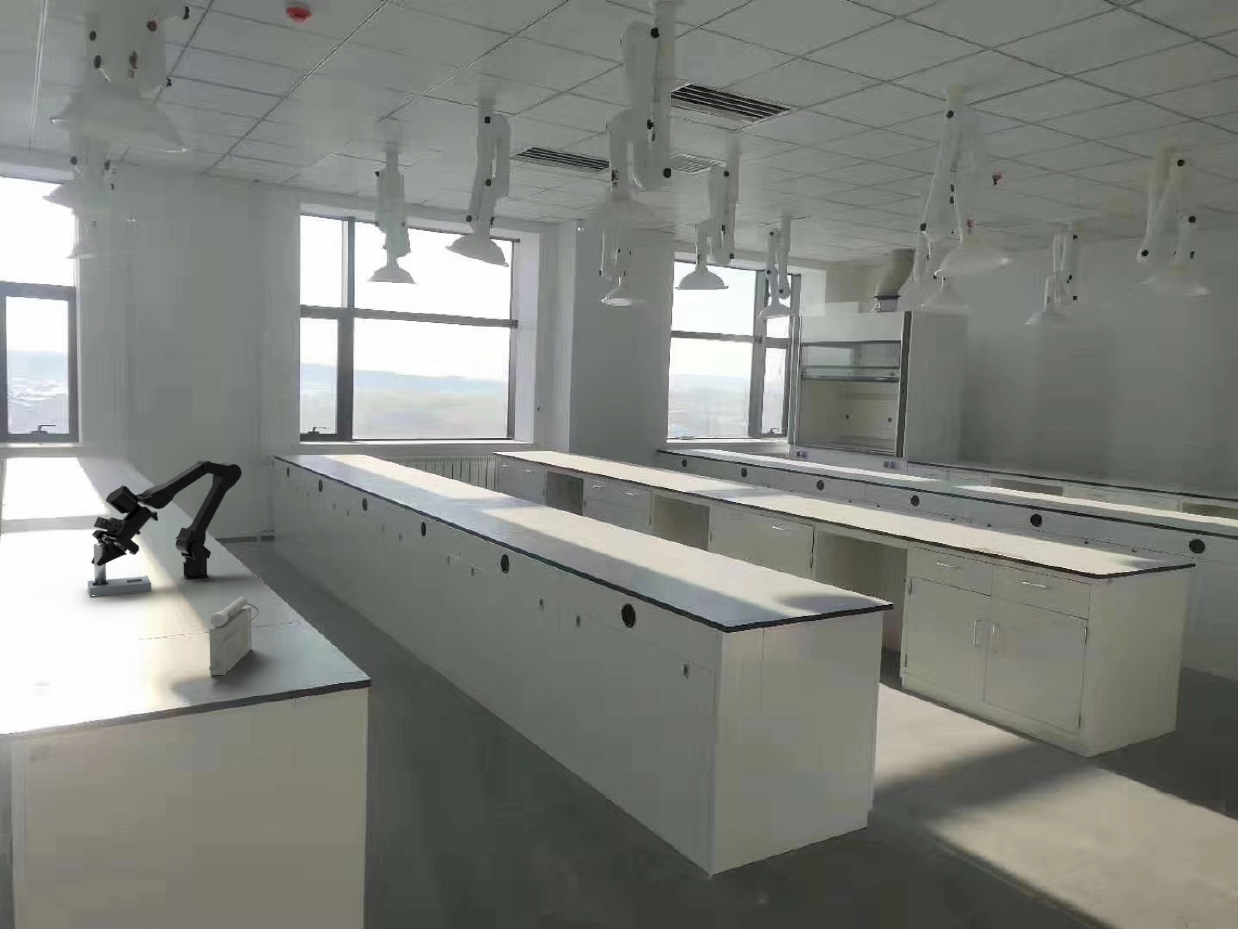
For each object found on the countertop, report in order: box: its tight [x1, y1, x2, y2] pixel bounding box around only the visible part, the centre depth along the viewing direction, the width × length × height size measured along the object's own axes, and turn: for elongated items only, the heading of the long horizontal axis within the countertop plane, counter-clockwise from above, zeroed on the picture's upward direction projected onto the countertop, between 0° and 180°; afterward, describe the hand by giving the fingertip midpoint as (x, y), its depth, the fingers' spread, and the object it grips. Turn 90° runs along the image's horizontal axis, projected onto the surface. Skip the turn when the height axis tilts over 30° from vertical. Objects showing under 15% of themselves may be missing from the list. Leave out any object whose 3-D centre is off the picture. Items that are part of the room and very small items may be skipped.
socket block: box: [87, 575, 152, 597], centre depth 273 cm, size 16×10×2 cm, turn 123°
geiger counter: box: [208, 596, 260, 675], centre depth 209 cm, size 14×6×25 cm
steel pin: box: [93, 542, 107, 586], centre depth 269 cm, size 3×3×12 cm
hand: (95, 564), depth 268 cm, fingers closed on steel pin, 3 cm apart
